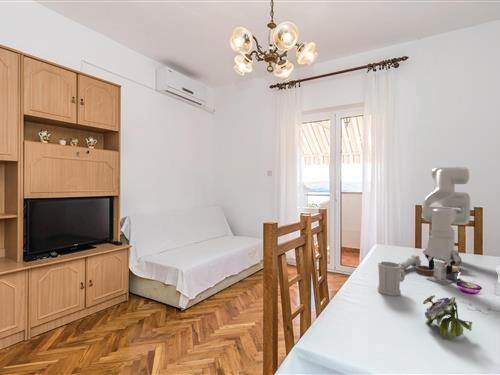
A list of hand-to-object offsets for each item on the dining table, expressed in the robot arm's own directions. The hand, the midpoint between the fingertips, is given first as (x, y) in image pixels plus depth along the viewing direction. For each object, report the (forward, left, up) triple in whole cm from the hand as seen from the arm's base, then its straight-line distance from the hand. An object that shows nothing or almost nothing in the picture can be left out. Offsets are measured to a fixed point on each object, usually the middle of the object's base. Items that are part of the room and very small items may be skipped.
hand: (440, 270), depth 132 cm
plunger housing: (-8, +1, -5) cm, 9 cm away
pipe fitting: (-26, -7, -5) cm, 27 cm away
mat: (0, 0, -5) cm, 5 cm away
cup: (+34, -3, -5) cm, 34 cm away
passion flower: (+47, +25, -5) cm, 53 cm away
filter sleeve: (-6, -10, -5) cm, 13 cm away
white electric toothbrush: (-5, -19, -5) cm, 20 cm away
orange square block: (-8, +1, -4) cm, 9 cm away
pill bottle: (0, 0, -4) cm, 4 cm away
